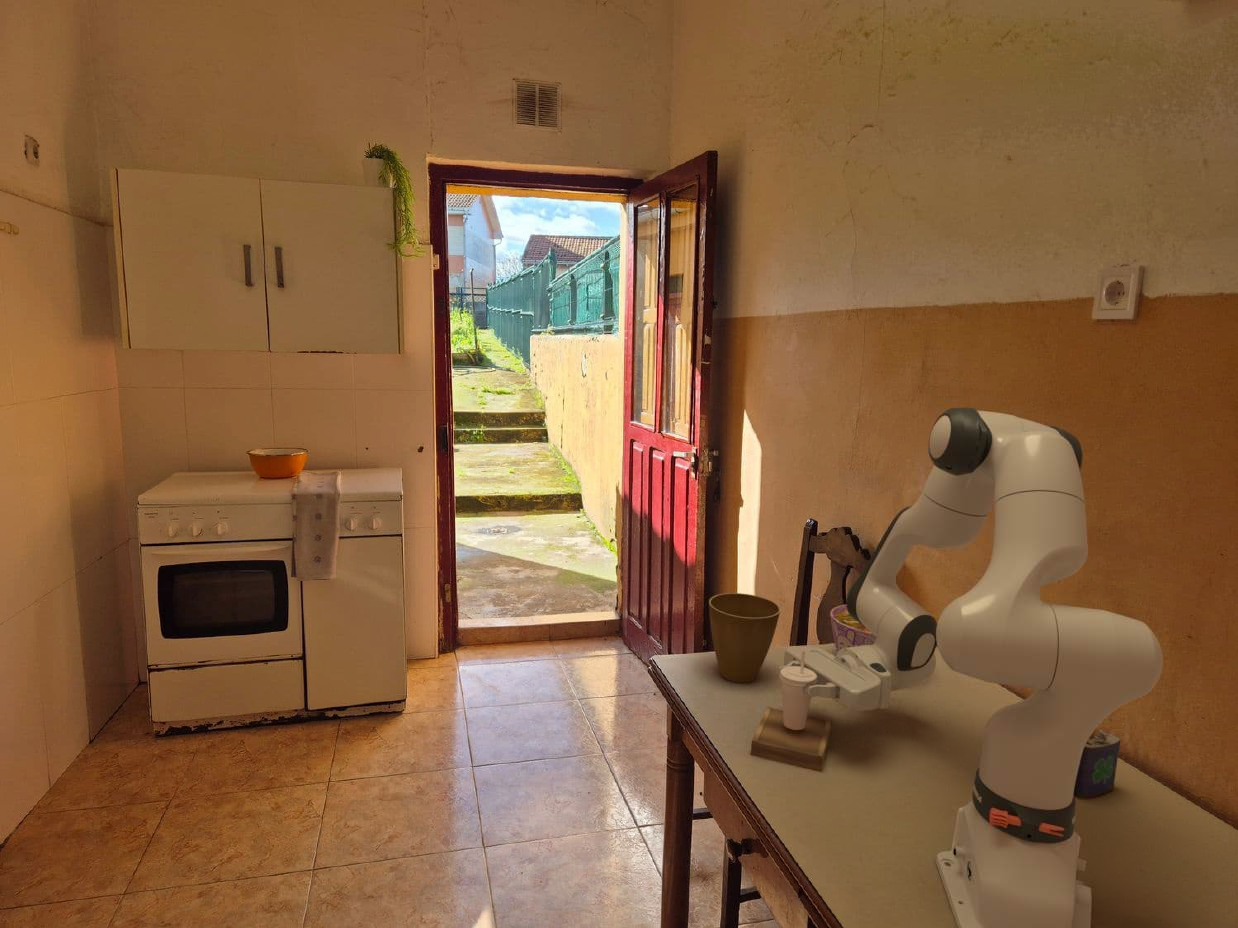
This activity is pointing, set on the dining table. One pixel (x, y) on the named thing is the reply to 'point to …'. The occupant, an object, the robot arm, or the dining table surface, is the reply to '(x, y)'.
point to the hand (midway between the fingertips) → (793, 681)
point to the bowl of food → (848, 630)
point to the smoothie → (796, 694)
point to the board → (792, 740)
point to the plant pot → (742, 633)
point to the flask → (1097, 766)
